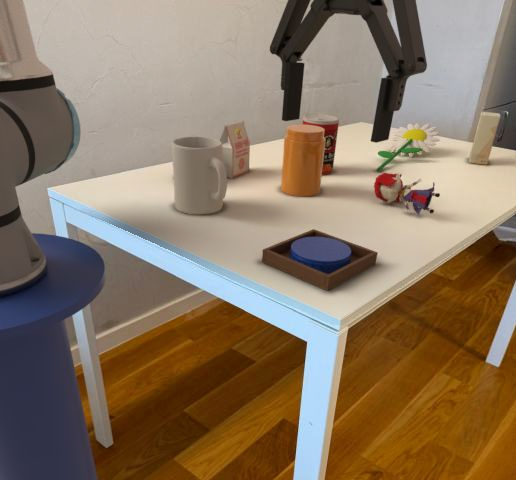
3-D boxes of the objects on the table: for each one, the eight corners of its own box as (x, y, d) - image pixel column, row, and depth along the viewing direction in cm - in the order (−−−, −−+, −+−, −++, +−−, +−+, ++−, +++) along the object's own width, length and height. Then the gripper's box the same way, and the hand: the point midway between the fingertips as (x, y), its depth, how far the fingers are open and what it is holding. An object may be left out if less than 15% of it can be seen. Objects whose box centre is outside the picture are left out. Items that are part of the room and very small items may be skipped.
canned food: (309, 176, 108) (314, 121, 102) (292, 166, 114) (296, 114, 108) (339, 173, 111) (346, 120, 105) (321, 164, 117) (327, 113, 111)
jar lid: (361, 261, 72) (363, 249, 71) (325, 280, 67) (327, 267, 66) (314, 243, 77) (315, 231, 76) (277, 259, 72) (278, 247, 71)
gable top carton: (217, 174, 107) (217, 124, 101) (234, 168, 112) (235, 119, 106) (232, 178, 105) (232, 127, 100) (249, 171, 110) (250, 122, 104)
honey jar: (272, 189, 100) (276, 127, 94) (297, 182, 105) (302, 122, 98) (303, 199, 96) (309, 134, 89) (327, 191, 101) (335, 129, 94)
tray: (261, 262, 72) (262, 249, 71) (312, 241, 79) (313, 228, 78) (327, 291, 66) (329, 277, 64) (375, 265, 73) (378, 252, 72)
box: (486, 165, 123) (501, 116, 117) (468, 163, 124) (481, 114, 118) (486, 160, 127) (500, 112, 121) (468, 158, 128) (481, 111, 122)
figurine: (418, 220, 87) (355, 197, 96) (445, 222, 92) (383, 199, 102) (431, 183, 84) (365, 162, 94) (458, 186, 89) (393, 166, 99)
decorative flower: (404, 186, 113) (444, 144, 132) (406, 164, 110) (447, 124, 128) (351, 178, 119) (397, 139, 137) (352, 157, 116) (399, 120, 134)
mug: (165, 204, 90) (161, 139, 84) (204, 195, 95) (203, 134, 89) (204, 224, 83) (202, 155, 77) (244, 214, 88) (246, 149, 81)
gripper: (499, -98, 46) (439, 146, 58) (290, -86, 59) (277, 109, 71) (464, -113, 41) (406, 155, 53) (246, -97, 55) (239, 115, 67)
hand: (332, 129), depth 62 cm, fingers open, 13 cm apart
